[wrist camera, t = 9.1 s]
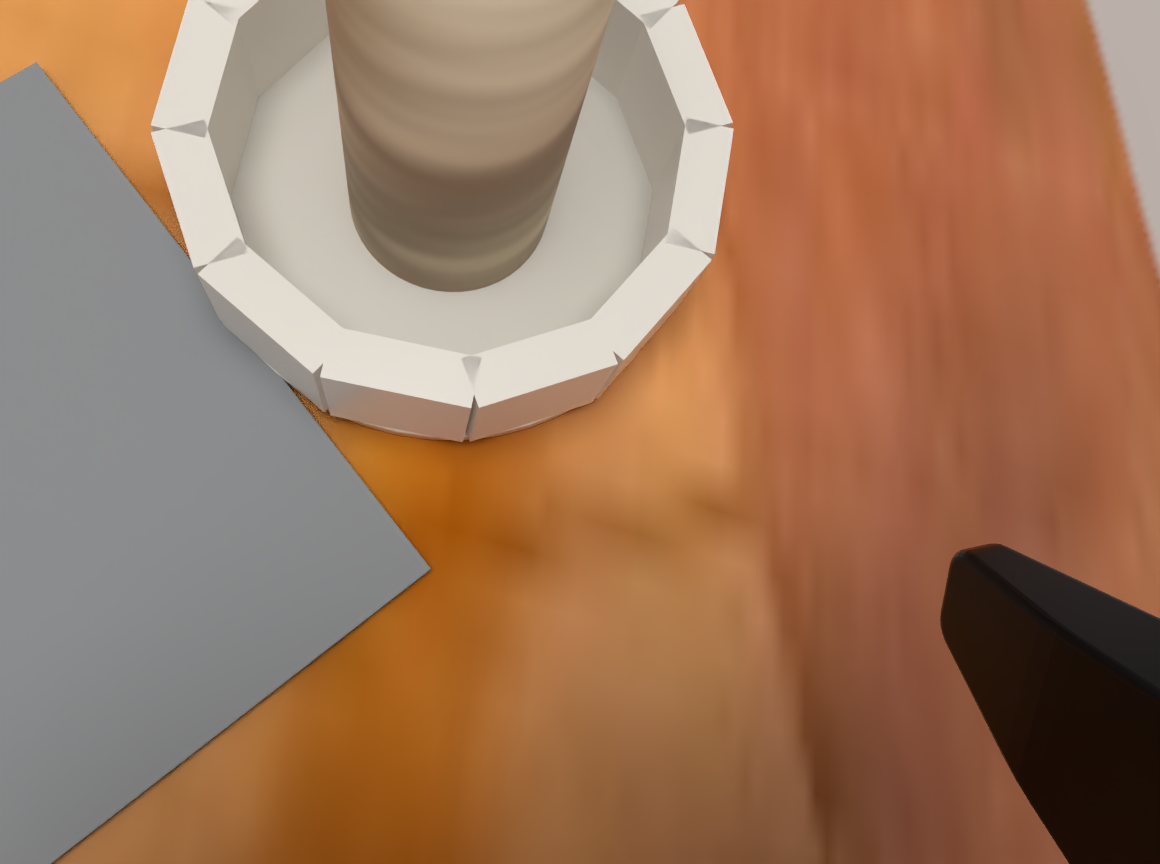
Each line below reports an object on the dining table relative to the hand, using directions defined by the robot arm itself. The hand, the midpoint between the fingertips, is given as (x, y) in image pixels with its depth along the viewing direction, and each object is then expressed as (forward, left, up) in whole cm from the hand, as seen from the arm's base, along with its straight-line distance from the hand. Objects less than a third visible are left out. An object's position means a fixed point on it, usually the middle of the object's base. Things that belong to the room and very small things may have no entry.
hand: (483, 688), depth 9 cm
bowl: (+7, -8, -14) cm, 17 cm away
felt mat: (+10, +4, -14) cm, 17 cm away
